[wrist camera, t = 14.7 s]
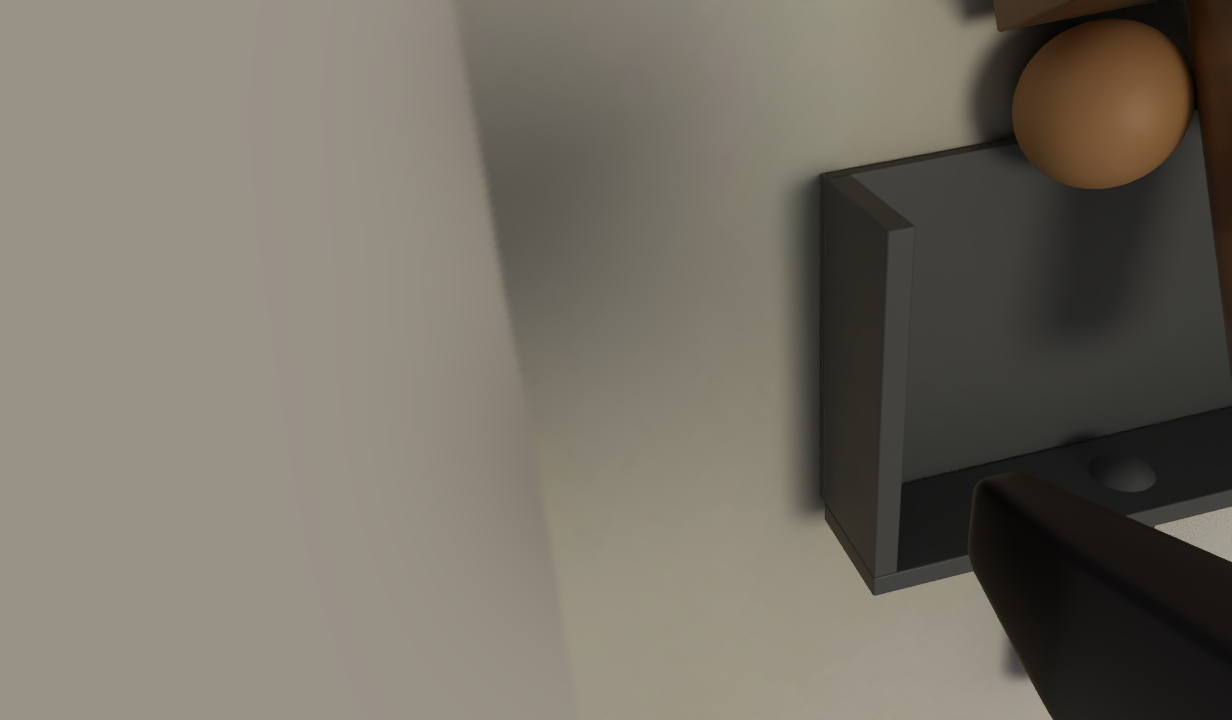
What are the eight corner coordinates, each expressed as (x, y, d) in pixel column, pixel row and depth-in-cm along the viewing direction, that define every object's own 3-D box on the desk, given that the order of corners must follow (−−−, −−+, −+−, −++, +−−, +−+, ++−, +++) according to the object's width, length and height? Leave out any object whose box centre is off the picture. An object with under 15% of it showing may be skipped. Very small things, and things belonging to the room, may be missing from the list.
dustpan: (820, 174, 22) (887, 232, 19) (1418, 61, 24) (1559, 98, 21) (819, 732, 32) (863, 824, 29) (1245, 618, 34) (1326, 693, 31)
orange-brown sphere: (1007, 37, 19) (991, 204, 21) (1209, 38, 18) (1176, 219, 19) (1033, 5, 22) (1017, 156, 23) (1212, 3, 20) (1182, 165, 22)
